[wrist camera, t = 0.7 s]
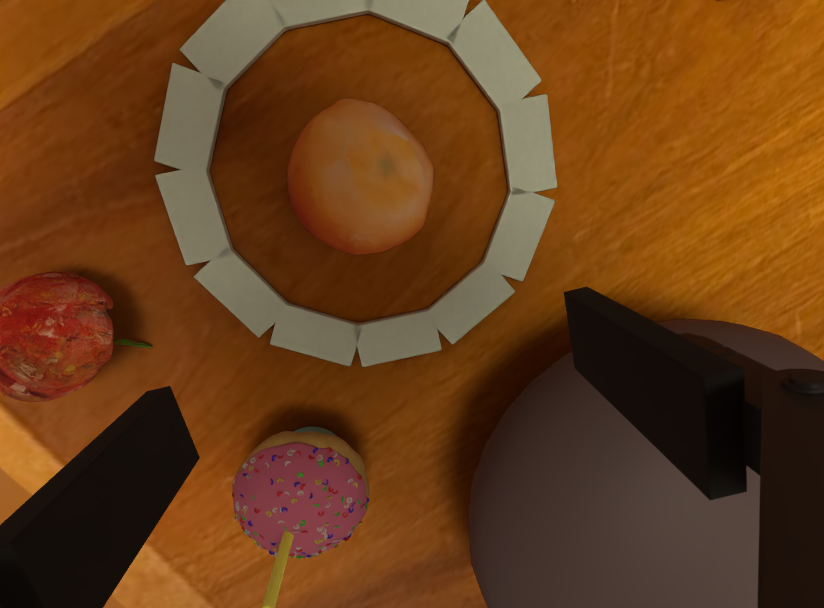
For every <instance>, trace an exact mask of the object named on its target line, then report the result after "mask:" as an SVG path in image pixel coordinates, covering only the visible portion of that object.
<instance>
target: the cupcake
mask: <svg viewBox="0 0 824 608" xmlns="http://www.w3.org/2000/svg"><path fill="white" fill-rule="evenodd" d="M368 494H369V484H368V479H367V474H366V468H365V465H364V462H363V459H362V458H361V456H360V455H359V454H358V453H356V452H355V451H354V450H353V449H352V448H351V447H350V446H349V445H348V444H347V443H346V442H345V441H344V440H343V439H341V438H339V437H337V436H336V435H335V434H334V433H332V432H331V431H329V430H327V429H324V428H321V427H304V428H300V429H298V430H295V431H294V432H290V431H284V432H280V433H278V434H275V435H273V436H271V437H269V438H267V439H266V440H264V441H263V442H262V443H261V444H260V445H258V446H257V447H256V448H255V449H254V450H253V451H252V453H251V454H250V455H249V456H248V457H247V458H246V460H245V461H244V462H243V463H242V465H241V466H240V467H239V469H238V471H237V474H236V476H235V478H234V481H233V493H232V496H233V501H234V510H235V520H237V519H238V521H239V523H240V525H241V526H242V529H243V530H244V533H245V534H246V535H249V537H250V538H251V539H254V541H253V543H254V544H256V545H257V546H259V544H260V548H262V549H266V550H268V551H269V553H270V554H274V557H275V558H276V559H275V563H274V566H273V570H272V573H271V576H270V580H269V583H268V587H267V590H266V594H265V597H264V601H263V604H262V607H261V608H275V605H276V601H277V597H278V594H279V590H280V586H281V582H282V579H283V575H284V571H285V567H286V563H287V560H288V556H290V557H291V558H293V557H296V558H308V557H309V558H311V557H313V556H317V555H319V554H320V553H323V552H324V551H327V550H329V549H331V548H333V547H335V548H337V547H338V545H339V543H340V544H341V543H342V541H343V540H344V539H345V541H347V540H349V538H350V536H351V533H353V532H354V530H355V528H356V527H357V526H359V525H360V524H361V519H362V518H363V516H364V515H365V512H366V509H367V503H368V501H369V498H368ZM359 522H360V524H359ZM347 538H348V539H347ZM255 542H256V543H255ZM271 552H272V553H271ZM275 554H276V555H275ZM310 556H311V557H310Z"/></svg>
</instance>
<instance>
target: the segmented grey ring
mask: <svg viewBox="0 0 824 608" xmlns="http://www.w3.org/2000/svg"><path fill="white" fill-rule="evenodd" d="M468 2H469V0H225V2H224V3H223V4H222V5H221V6H220V7H219V8H218V9H217V10H216V11H215V12H214V13H213V14H212V15H211V16H210V17H209V18H208V19H207V21H206V22H205V23H204V24H203V25H202V26H201V27H200V28H199V29H198V30H197V31H196V32H195V33H194V34H193V35H192V36H191V37H190V38H189V39H188V41H187V42H186V43H185V44H184V45H183V46H182V47H181V48H180V51H181V52H182V53H183V54H184V55H185V56H186V58H187V59H188V60H189V61H190V62H191V63H192V64H193V65H194V66H195V67H196V68H197V69H198V71H199V72H197V71H195V70H192V69H189V68H186V67H184V66H181V65H178V64H175V63H172V68H171V73H170V78H169V84H168V89H167V94H166V99H165V105H164V110H163V115H162V120H161V126H160V131H159V136H158V141H157V147H156V152H155V157H154V161H155V162H158V163H161V164H164V165H167V166H171V167H174V168H177V169H180V170H177V171H172V172H167V173H162V174H158V175H155V177H156V180H157V183H158V186H159V189H160V192H161V195H162V198H163V200H164V203H165V206H166V209H167V212H168V215H169V218H170V221H171V224H172V227H173V230H174V232H175V235H176V238H177V241H178V244H179V247H180V250H181V253H182V256H183V259H184V262H185V264H186V265H192V264H197V263H201V262H206V261H209V262H208V263H207V264H206V265H205V266H204V267H203V268H202V269H201V270H200V271H199V272H198V273H197V274H196V275H195V276H194V278H195V279H196V280H197V281H198V282H199V283H200V284H202V285H203V286H204V287H205V288H206V289H207V290H208V291H209V292H210V293H211V294H212V295H213V296H214V297H215V298H216V299H218V300H219V301H220V302H221V303H222V304H223V305H224V306H225V307H226V308H227V309H228V310H229V311H230V312H231V313H233V314H234V315H235V316H236V317H237V318H238V319H239V320H240V321H241V322H242V323H243V324H244V325H245V326H246V327H247V328H249V329H250V330H251V331H252V332H253V333H254V334H255V335H256V336H257V337H258V338H259V337H260V336H261V335H263V334H264V333H265V332H266V331H267V330H268V329H269V328H270V327H271V326H272V325H274V324H275V326H274V329H273V333H272V337H271V340H270V344H271V345H274V346H278V347H281V348H285V349H289V350H292V351H296V352H299V353H303V354H306V355H310V356H314V357H317V358H321V359H324V360H328V361H331V362H335V363H338V364H342V365H346V366H349V367H350V366H351V364H352V360H353V357H354V354H355V351H356V348H358V352H359V356H360V360H361V364H362V367H366V366H370V365H375V364H380V363H384V362H389V361H394V360H398V359H403V358H408V357H412V356H417V355H422V354H426V353H431V352H436V351H440V350H442V348H441V343H440V338H439V333H438V330H439V331H440V332H441V333H442V334H443V335H444V337H445V338H446V339H447V340H448V341H449V342H450V343H451V344H452V345H453V344H454V343H455V342H457V341H458V340H459V339H460V338H461V337H462V336H464V335H465V334H466V333H467V332H468V331H470V330H471V329H472V328H473V327H474V326H476V325H477V324H478V323H479V322H480V321H481V320H483V319H484V318H485V317H486V316H487V315H489V314H490V313H491V312H492V311H493V310H495V309H496V308H497V307H498V306H499V305H500V304H502V303H503V302H504V301H505V300H506V299H508V298H509V297H510V296H511V295H512V294H514V293H515V290H514V289H513V288H512V287H511V286H510V284H509V283H508V282H507V281H506V280H505V278H504V277H503V276H506V277H509V278H512V279H516V280H519V281H523V280H524V277H525V275H526V272H527V270H528V267H529V265H530V262H531V260H532V258H533V255H534V253H535V250H536V248H537V245H538V243H539V240H540V238H541V235H542V233H543V230H544V228H545V225H546V223H547V220H548V218H549V215H550V213H551V210H552V208H553V205H554V203H555V200H553V199H550V198H547V197H544V196H542V195H539V194H536V193H534V192H539V191H543V190H548V189H553V188H557V181H556V172H555V163H554V154H553V144H552V135H551V126H550V117H549V108H548V99H547V94H543V95H538V96H533V97H528V98H524V99H522V98H523V97H524V96H526V95H527V94H528V93H529V92H530V91H531V90H532V89H533V88H534V87H535V86H537V85H538V84H539V83H540V82H541V81H542V80H541V78H540V77H539V76H538V74H537V73H536V71H535V70H534V69H533V67H532V66H531V64H530V63H529V61H528V60H527V59H526V57H525V56H524V54H523V53H522V52H521V50H520V49H519V47H518V46H517V45H516V43H515V42H514V40H513V39H512V38H511V36H510V35H509V33H508V32H507V31H506V29H505V28H504V26H503V25H502V24H501V22H500V21H499V19H498V18H497V17H496V15H495V14H494V12H493V11H492V9H491V8H490V7H489V5H488V4H487V2H486V1H485V0H482V1H481V2H480V3H479V4H478V5H477V6H476V7H475V8H474V9H473V10H472V11H471V12H469V13H468V14H467V15H466V16H465V17H464V14H465V11H466V8H467V5H468ZM368 13H369V14H371V15H374V16H376V17H379V18H381V19H384V20H386V21H389V22H391V23H394V24H396V25H399V26H401V27H404V28H406V29H408V30H411V31H413V32H416V33H418V34H421V35H423V36H426V37H428V38H431V39H433V40H436V41H438V42H441V43H443V44H446V45H448V47H449V48H450V49H451V51H452V52H453V53H454V55H455V56H456V57H457V59H458V60H459V61H460V63H461V64H462V65H463V67H464V68H465V69H466V71H467V72H468V73H469V75H470V76H471V77H472V79H473V80H474V81H475V83H476V84H477V85H478V86H479V88H480V89H481V90H482V92H483V93H484V94H485V96H486V97H487V98H488V100H489V101H490V102H491V104H492V105H493V106H494V108H495V109H496V110H497V112H498V119H499V126H500V134H501V141H502V148H503V155H504V163H505V170H506V177H507V184H508V193H507V196H506V199H505V201H504V204H503V207H502V209H501V212H500V215H499V217H498V220H497V223H496V225H495V228H494V231H493V233H492V236H491V239H490V241H489V244H488V247H487V249H486V252H485V255H484V257H483V260H482V262H481V263H480V264H478V265H477V266H476V267H475V268H474V269H473V270H471V271H470V272H469V273H468V274H467V275H466V276H464V277H463V278H462V279H461V280H460V281H459V282H458V283H456V284H455V285H454V286H453V287H452V288H451V289H449V290H448V291H447V292H446V293H445V294H444V295H442V296H441V297H440V298H439V299H438V300H437V301H436V302H434V303H433V304H432V305H431V306H430V307H429V308H427V309H423V310H418V311H413V312H409V313H404V314H399V315H394V316H390V317H385V318H380V319H376V320H371V321H366V322H362V323H356V322H352V321H349V320H345V319H342V318H339V317H335V316H332V315H328V314H325V313H322V312H318V311H315V310H312V309H308V308H305V307H301V306H298V305H295V304H291V303H288V302H287V301H286V300H285V299H284V298H283V297H282V296H281V295H280V294H279V293H278V292H277V291H276V290H275V289H274V288H273V287H272V286H271V285H270V284H269V283H268V282H267V281H266V280H265V279H264V278H263V277H261V276H260V275H259V274H258V273H257V272H256V271H255V270H254V269H253V268H252V267H251V266H250V265H249V264H248V263H247V262H246V261H245V260H244V259H243V258H242V257H241V256H240V255H239V254H238V253H237V252H236V251H235V250H234V249H233V246H232V243H231V240H230V236H229V233H228V230H227V227H226V224H225V220H224V217H223V214H222V211H221V208H220V204H219V201H218V198H217V195H216V192H215V188H214V185H213V182H212V179H211V175H210V172H209V170H210V166H211V161H212V156H213V152H214V147H215V143H216V138H217V134H218V129H219V125H220V120H221V115H222V111H223V106H224V102H225V97H226V93H227V90H228V89H229V88H230V87H231V86H232V85H233V84H234V83H235V82H236V81H237V80H238V79H239V78H240V77H241V76H242V75H243V73H244V72H245V71H246V70H247V69H248V68H249V67H250V66H251V65H252V64H253V63H254V62H255V61H256V60H257V59H258V58H259V57H260V56H261V55H262V54H263V53H264V52H265V51H266V50H267V49H268V48H269V47H270V46H271V45H272V44H273V43H274V42H275V41H276V40H277V39H278V38H279V37H280V36H281V35H282V34H283V33H284V32H285V31H286V30H290V29H295V28H300V27H305V26H310V25H315V24H320V23H324V22H329V21H334V20H339V19H344V18H349V17H354V16H359V15H364V14H368ZM463 17H464V18H463ZM502 275H503V276H502Z"/></svg>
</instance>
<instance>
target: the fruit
mask: <svg viewBox="0 0 824 608" xmlns="http://www.w3.org/2000/svg"><path fill="white" fill-rule="evenodd" d="M433 178H434V166H433V164H432V162H431V161H430V159H429V157H428V155H427V153H426V151H425V149H424V147H423V145H422V144H421V143H420V142H419V141H418V140H417V139H416V138H415V137H414V136H413V135H412V134H411V133H410V132H409V131H408V130H407V128H406V127H405V126H404V125H403V124H402V122H401V121H400V120H399V119H398V118H396V117H395V116H394V115H393V114H392V113H390V112H389V111H387V110H386V109H384V108H382V107H381V106H379V105H377V104H376V103H372V102H367V101H360V100H356V99H352V98H346V99H343V100H339V101H337V102H336V103H335V104H333V105H332V106H330V107H328V108H327V109H325V110H323V111H322V112H320V113H319V114H317V115H316V116H315V117H314V118H313V119H312V120H311V121H310V122H309V123H308V124H307V125H306V126H305V127H304V129H303V130H302V132H301V134H300V135H299V137H298V139H297V141H296V143H295V145H294V148H293V150H292V153H291V156H290V160H289V166H288V171H287V187H288V193H289V198H290V202H291V205H292V208H293V210H294V212H295V214H296V216H297V217H298V219H299V220H300V222H301V223H302V225H303V226H304V227H305V229H306V230H307V231H308V232H310V233H311V234H312V235H313V236H315V237H317V238H318V239H320V240H321V241H323V242H325V243H326V244H328V245H329V246H331V247H332V248H335V249H337V250H340V251H343V252H346V253H349V254H353V255H362V254H370V253H381V252H384V251H386V250H388V249H390V248H393V247H395V246H397V245H399V244H401V243H404V242H406V241H408V240H409V239H411V238H412V237H413V236H414V234H415V233H417V232H418V231H420V230H421V229H422V228H423V226H424V223H425V220H426V217H427V213H428V208H429V204H430V201H431V199H432V188H433Z"/></svg>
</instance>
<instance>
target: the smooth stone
mask: <svg viewBox="0 0 824 608" xmlns="http://www.w3.org/2000/svg"><path fill="white" fill-rule="evenodd" d="M656 323H657V324H659V325H661V326H663V327H665V328H667V329H669V330H671V331H673V332H675V333H677V334H681V333H685V332H687V333H691V334H695V335H700V336H704V337H708V338H710V339H712V340H714V341H716V342H718V343H720V344H722V345H723V346H724V347H726V346H727V347H729V348H731V349H733V350H735V351H737V354H738V353H741V354H743V355H745V356H747V357H749V358H751V359H753V360H755V361H758V362H760V363H762V364H764V365H766V366H768V367H770V368H772V369H774V370H776V371H778V370H784V369H813V370H821V371H824V361H823V360H821V359H820V358H818V357H817V356H815V355H813V354H812V353H810V352H808V351H806V350H805V349H803V348H801V347H799V346H797V345H796V344H794V343H792V342H790V341H789V340H787V339H785V338H783V337H781V336H780V335H776V334H773V333H769V332H765V331H762V330H758V329H755V328H751V327H748V326H744V325H740V324H735V323H729V322H724V321H713V320H696V319H676V320H669V321H662V322H656ZM746 469H747V492H743V493H739V494H735V495H731V496H727V497H723V498H718V499H714V500H709V499H708V498H707V497H706V496H705V495H704V494H703V493H702V492H701V491H700V490H699V489H698V488H697V487H696V486H695V485H694V484H693V483H692V482H691V481H690V480H689V479H688V478H687V477H686V476H684V475H683V474H682V473H681V472H680V471H679V470H678V469H677V468H676V467H675V466H674V465H673V464H672V463H671V462H670V461H669V460H668V459H667V458H666V457H665V456H664V455H663V454H662V453H661V452H660V451H659V450H658V449H657V448H656V447H655V446H654V445H653V444H652V443H651V442H650V441H649V440H648V439H647V438H645V437H644V436H643V435H642V434H641V433H640V432H639V431H638V430H637V429H636V428H635V427H634V426H633V425H632V424H631V423H630V422H629V421H628V420H627V419H626V418H625V417H624V416H623V415H622V414H621V413H620V412H619V411H618V410H617V409H616V408H615V407H614V406H613V405H612V404H611V403H610V402H609V401H608V400H607V399H605V398H604V397H603V396H602V395H601V394H600V393H599V392H598V391H597V390H596V389H595V388H594V387H593V386H592V385H591V384H590V383H589V382H588V381H587V380H586V379H585V378H584V377H583V376H582V375H581V374H580V373H579V372H578V371H577V370H576V369H575V368H574V361H573V354H572V352H571V353H569V354H567V355H565V356H563V357H561V358H560V359H559V360H557V361H556V362H555V363H554V364H552V365H551V366H550V367H549V368H547V369H546V370H545V371H543V372H542V373H541V374H540V375H538V376H537V377H536V378H535V379H533V380H532V381H531V382H530V383H529V384H528V385H527V387H526V388H525V389H524V390H523V391H522V392H521V393H520V394H519V396H518V397H517V398H516V399H515V400H514V401H513V402H512V403H511V405H510V406H509V407H508V408H507V410H506V411H505V413H504V415H503V416H502V418H501V420H500V421H499V423H498V425H497V426H496V428H495V429H494V431H493V433H492V434H491V436H490V438H489V440H488V441H487V443H486V445H485V447H484V450H483V453H482V455H481V458H480V461H479V464H478V466H477V469H476V472H475V475H474V478H473V480H472V487H471V495H470V502H469V509H468V530H469V541H470V552H471V563H472V567H473V570H474V573H475V575H476V578H477V581H478V584H479V587H480V590H481V593H482V595H483V597H484V600H485V602H486V604H487V606H488V608H758V561H759V513H760V476H759V475H758V474H757V473H756V472H754V471H753V470H752V469H751V468H749V467H748V466H747V465H746Z"/></svg>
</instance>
